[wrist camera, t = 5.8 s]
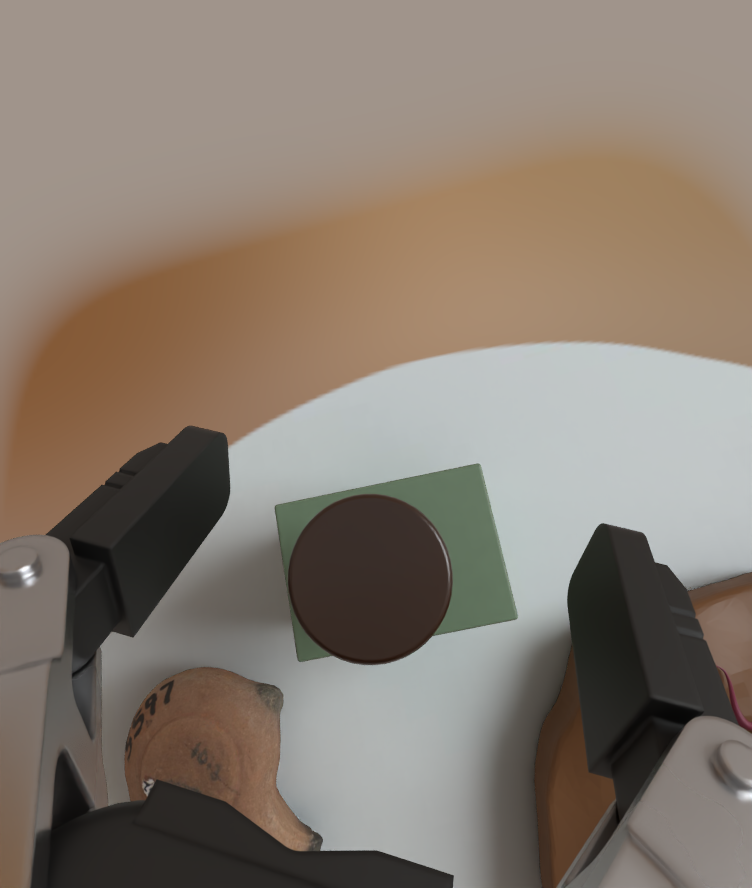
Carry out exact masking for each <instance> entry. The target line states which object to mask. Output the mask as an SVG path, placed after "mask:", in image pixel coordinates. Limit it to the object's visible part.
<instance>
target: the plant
mask: <svg viewBox="0 0 752 888" xmlns="http://www.w3.org/2000/svg"><path fill="white" fill-rule="evenodd" d="M687 592H688V594H689V597H690V600H691V602H692V605H693V607H694V610H695V613H696V615H695V618H696V619H698V620H699V623H700V626H701V628H702V631H703V633H704V636H703V639H704V640H706V641H707V644H708V646H709V649H710V652H711V654H712V657H713V659H714V662H715V665H716V667H717V670H718V672H719V675H720V678H721V680H722V683H723V685H724V688H725V691H726V693H727V696H728V698H729V701H730V704H731V706H732V709H733V711H734V714H735V717H736V719H737V722H738V724H739V726H740V727H742V728H744V729H745V730H747V731H748V732H750V733H751V734H752V572H750V573H746V574H743V575H740V576H738V577H735V578H732V579H729V580H726V581H722V582H718V583H714V584H710V585H707V586H704V587H700V588H697V589H694V590H690V591H687ZM534 784H535V795H536V807H537V818H538V837H539V859H540V873H541V881H542V887H543V888H556V887H557V886H558V884H559V883H560V881H561V880H562V878H563V876H564V875H565V873H566V872H567V870H568V869H569V867H570V866H571V864H572V863H573V861H574V860H575V858H576V856H577V855H578V853H579V852H580V850H581V849H582V847H583V846H584V844H585V843H586V841H587V840H588V838H589V836H590V835H591V833H592V832H593V830H594V829H595V827H596V826H597V824H598V823H599V821H600V820H601V818H602V816H603V815H604V813H605V812H606V810H607V809H608V807H609V806H610V805H611V803H612V802H613V801H614V800H615V799H616V796H615V790H614V783H613V779H610V778H606V777H603V776H599V775H596V774H593V773H589V772H588V765H587V757H586V749H585V741H584V733H583V725H582V717H581V709H580V701H579V693H578V685H577V677H576V669H575V661H574V653H573V645H572V647H571V651H570V655H569V659H568V664H567V669H566V673H565V677H564V681H563V684H562V688H561V691H560V694H559V696H558V699H557V701H556V703H555V704H554V706H553V708H552V709H551V711H550V712H549V714H548V715H547V717H546V719H545V721H544V723H543V726H542V729H541V732H540V737H539V742H538V748H537V754H536V761H535V775H534Z"/></svg>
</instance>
